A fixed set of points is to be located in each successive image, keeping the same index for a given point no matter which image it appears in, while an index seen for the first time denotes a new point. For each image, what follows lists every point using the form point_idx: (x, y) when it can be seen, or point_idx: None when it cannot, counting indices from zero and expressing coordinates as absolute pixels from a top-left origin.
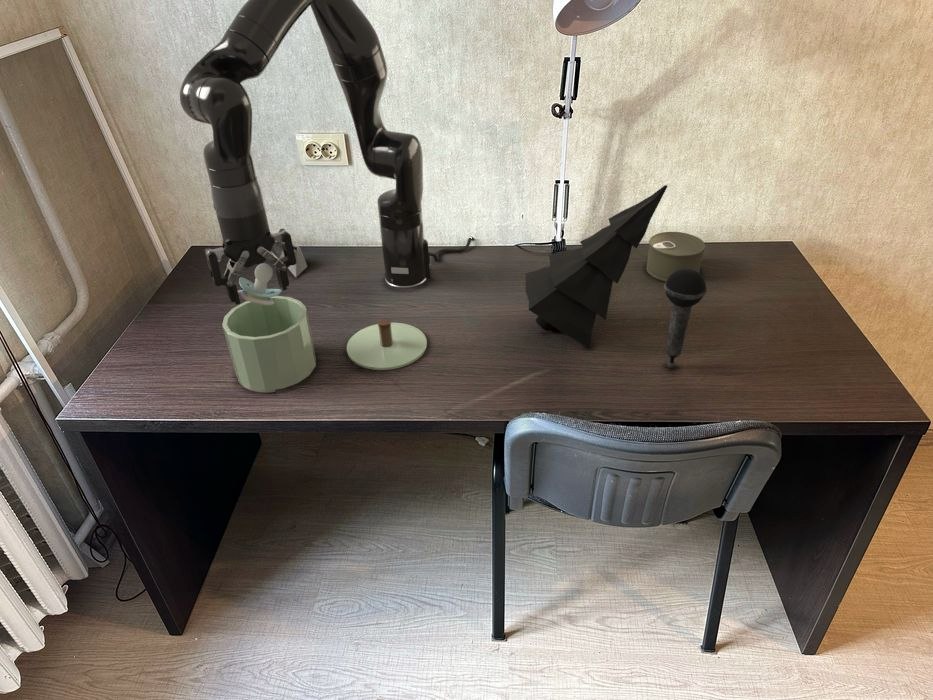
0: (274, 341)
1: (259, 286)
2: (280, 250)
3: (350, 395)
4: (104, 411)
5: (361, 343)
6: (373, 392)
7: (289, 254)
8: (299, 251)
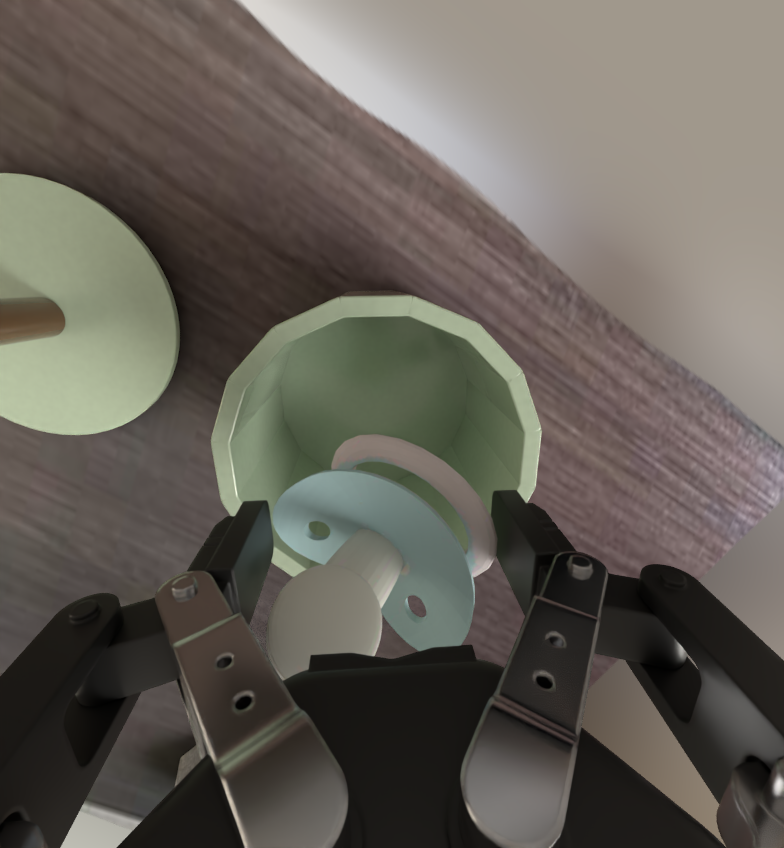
0: (398, 294)
1: (374, 559)
2: None
3: (228, 149)
4: (748, 448)
5: (123, 363)
6: (156, 117)
7: (48, 680)
8: None
